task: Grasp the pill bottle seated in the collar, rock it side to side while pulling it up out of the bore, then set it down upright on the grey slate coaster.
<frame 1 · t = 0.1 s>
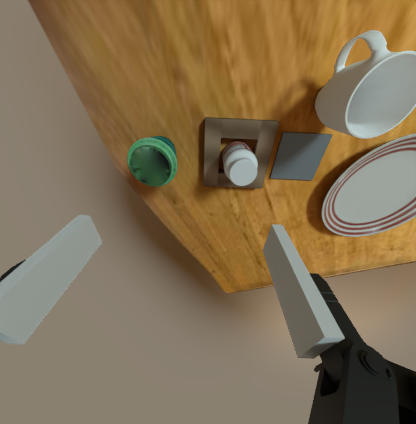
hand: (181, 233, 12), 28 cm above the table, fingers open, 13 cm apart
coaster: (298, 157, 36), on the table
mug: (327, 90, 29), on the table
dinner plate: (374, 189, 40), on the table
pill bottle: (235, 154, 36), resting in collar
cup: (167, 148, 35), on the table
collar: (235, 154, 36), on the table
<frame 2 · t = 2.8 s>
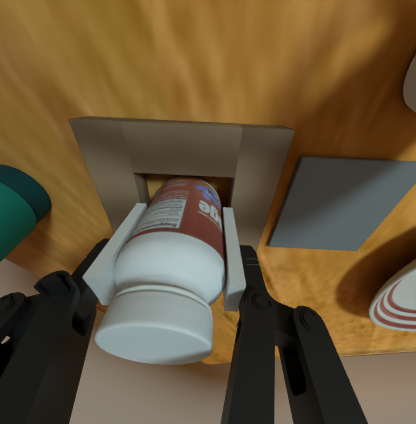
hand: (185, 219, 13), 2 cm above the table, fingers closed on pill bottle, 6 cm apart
coaster: (332, 210, 15), on the table
pill bottle: (189, 202, 16), resting in collar, touching gripper
cup: (29, 188, 15), on the table
collar: (188, 203, 15), on the table
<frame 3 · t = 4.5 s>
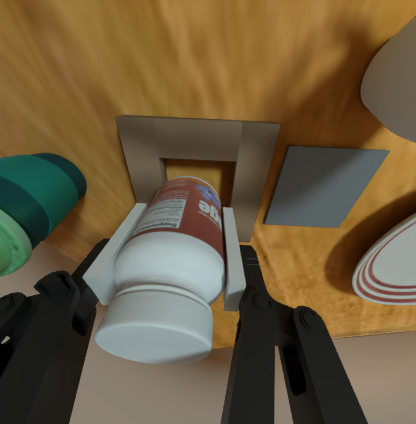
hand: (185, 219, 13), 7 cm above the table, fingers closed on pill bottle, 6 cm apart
coaster: (316, 191, 19), on the table
mug: (394, 52, 12), on the table
pill bottle: (189, 202, 16), point 4 cm above the table, touching gripper
cup: (69, 174, 19), on the table
collar: (199, 186, 19), on the table
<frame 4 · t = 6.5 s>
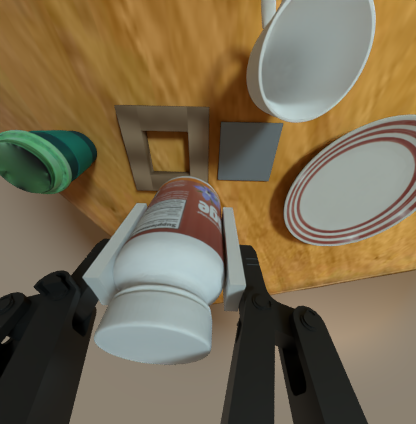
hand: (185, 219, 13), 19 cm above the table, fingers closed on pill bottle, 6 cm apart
coaster: (246, 153, 29), on the table
mug: (267, 65, 22), on the table
dinner plate: (346, 190, 33), on the table
pill bottle: (188, 202, 16), point 17 cm above the table, touching gripper
cup: (86, 145, 29), on the table
collar: (170, 151, 29), on the table
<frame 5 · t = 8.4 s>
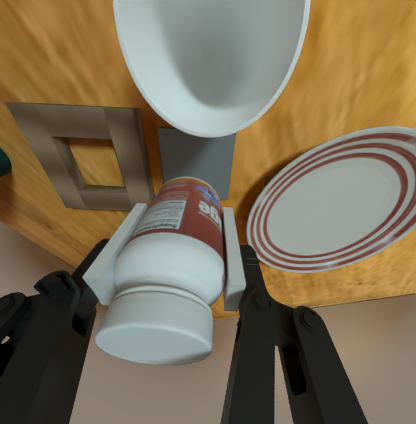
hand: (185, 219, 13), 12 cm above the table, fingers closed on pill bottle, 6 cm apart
coaster: (196, 167, 23), on the table
mug: (206, 54, 16), on the table
dinner plate: (322, 211, 28), on the table
pill bottle: (189, 202, 16), point 10 cm above the table, touching gripper
collar: (101, 162, 23), on the table
when the fingers open (4 cm above the table, at t = 10.1 s): pill bottle drops 1 cm, resting on coaster.
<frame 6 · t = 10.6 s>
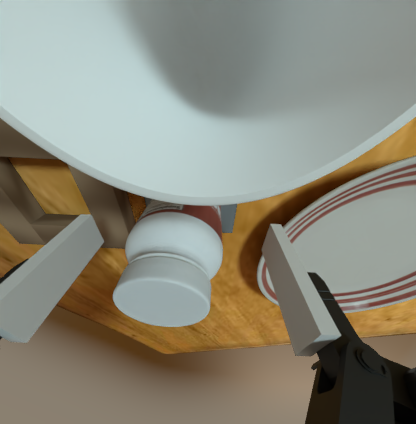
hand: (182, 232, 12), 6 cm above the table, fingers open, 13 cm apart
coaster: (191, 193, 17), on the table
mug: (203, 29, 10), on the table
dinner plate: (354, 245, 22), on the table
pill bottle: (190, 194, 17), resting on coaster
collar: (61, 187, 17), on the table
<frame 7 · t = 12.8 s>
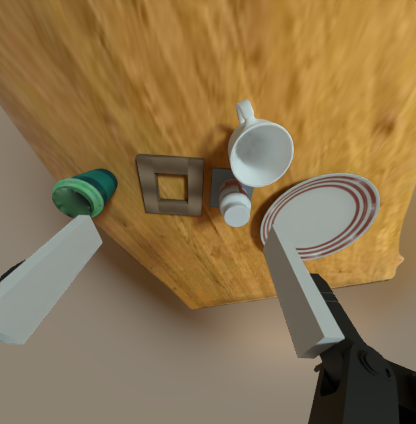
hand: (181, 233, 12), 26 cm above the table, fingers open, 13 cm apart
coaster: (231, 189, 38), on the table
mug: (244, 135, 32), on the table
dinner plate: (309, 218, 43), on the table
pill bottle: (231, 190, 38), resting on coaster
cup: (109, 178, 38), on the table
collar: (173, 185, 38), on the table
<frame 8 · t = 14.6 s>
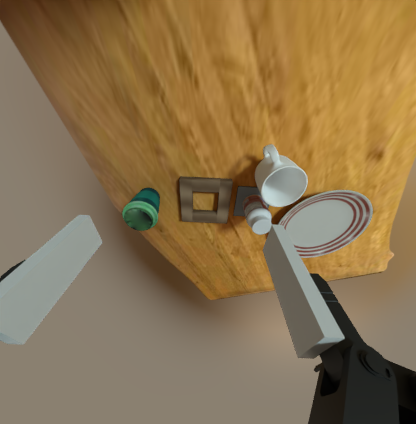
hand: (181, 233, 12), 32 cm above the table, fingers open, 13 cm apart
coaster: (252, 202, 47), on the table
mug: (265, 161, 40), on the table
dinner plate: (315, 223, 52), on the table
pill bottle: (252, 202, 47), resting on coaster
cup: (153, 195, 47), on the table
collar: (205, 199, 47), on the table
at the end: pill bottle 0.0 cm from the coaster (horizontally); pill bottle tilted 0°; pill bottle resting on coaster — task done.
